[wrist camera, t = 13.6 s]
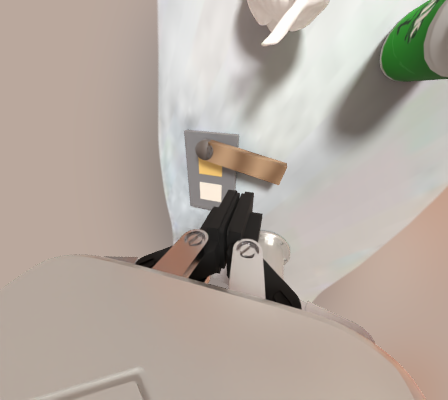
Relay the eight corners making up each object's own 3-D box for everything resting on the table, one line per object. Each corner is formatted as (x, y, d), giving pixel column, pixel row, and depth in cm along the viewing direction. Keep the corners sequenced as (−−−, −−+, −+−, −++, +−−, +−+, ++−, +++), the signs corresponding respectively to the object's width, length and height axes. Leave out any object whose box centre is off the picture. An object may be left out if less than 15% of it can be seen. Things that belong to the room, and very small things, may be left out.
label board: (233, 211, 44) (231, 216, 42) (192, 203, 47) (188, 208, 45) (239, 134, 35) (236, 137, 33) (186, 129, 37) (181, 132, 35)
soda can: (447, 68, 23) (566, 52, 13) (374, 90, 26) (429, 91, 16) (460, -10, 20) (630, -106, 10) (376, 25, 23) (445, -23, 13)
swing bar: (286, 163, 32) (286, 167, 31) (279, 180, 34) (278, 185, 33) (200, 136, 34) (196, 138, 33) (198, 153, 36) (194, 156, 35)
